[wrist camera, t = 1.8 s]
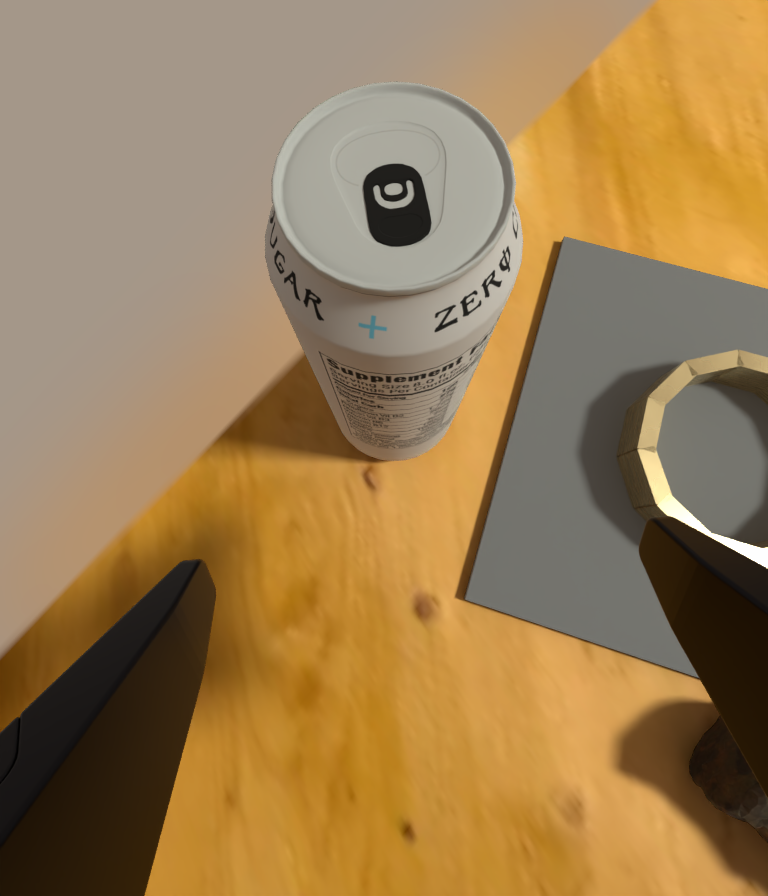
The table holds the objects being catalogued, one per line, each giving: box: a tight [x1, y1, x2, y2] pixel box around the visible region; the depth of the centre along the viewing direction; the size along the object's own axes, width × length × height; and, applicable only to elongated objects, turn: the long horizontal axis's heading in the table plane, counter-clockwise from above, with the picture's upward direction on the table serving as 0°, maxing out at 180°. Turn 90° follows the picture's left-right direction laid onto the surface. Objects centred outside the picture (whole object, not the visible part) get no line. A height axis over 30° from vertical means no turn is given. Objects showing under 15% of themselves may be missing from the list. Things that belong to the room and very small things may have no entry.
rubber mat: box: [464, 237, 768, 678], centre depth 22 cm, size 20×20×1 cm
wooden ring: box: [616, 350, 768, 568], centre depth 21 cm, size 10×10×2 cm
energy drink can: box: [265, 82, 523, 461], centre depth 16 cm, size 6×6×15 cm
